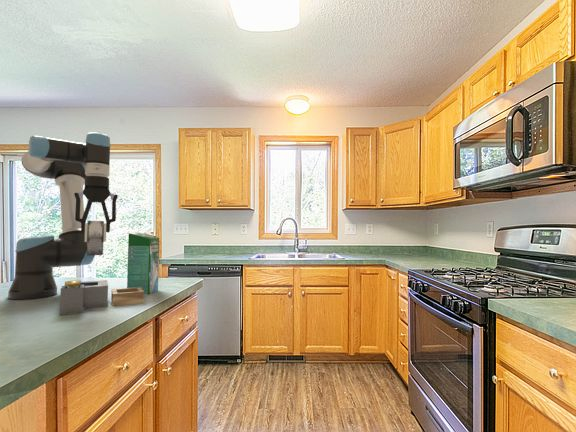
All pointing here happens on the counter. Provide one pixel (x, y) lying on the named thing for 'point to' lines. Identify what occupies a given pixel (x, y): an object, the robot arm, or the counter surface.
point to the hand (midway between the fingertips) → (95, 241)
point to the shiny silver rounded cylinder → (95, 237)
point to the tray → (127, 296)
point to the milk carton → (143, 262)
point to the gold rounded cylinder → (72, 284)
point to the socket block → (83, 297)
